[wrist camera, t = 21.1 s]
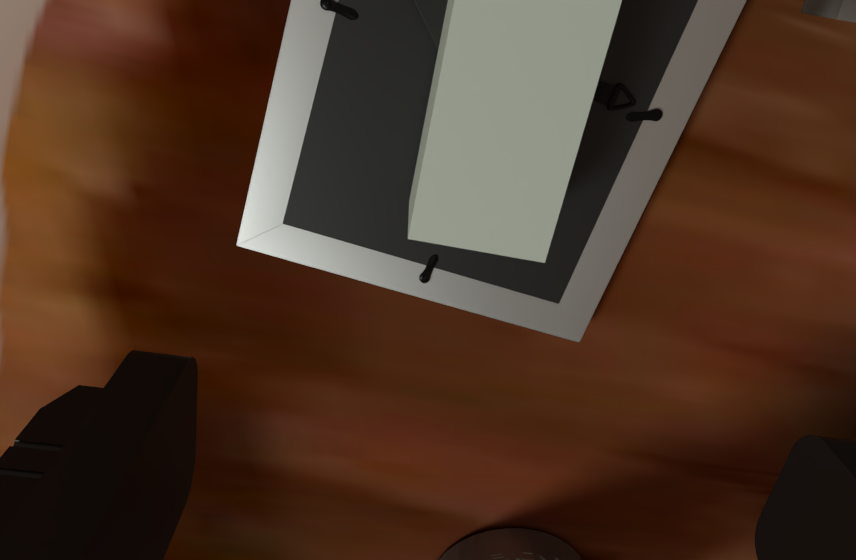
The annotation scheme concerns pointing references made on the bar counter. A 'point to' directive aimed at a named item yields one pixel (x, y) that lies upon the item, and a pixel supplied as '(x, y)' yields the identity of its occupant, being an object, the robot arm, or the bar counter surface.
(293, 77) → the picture frame
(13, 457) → the robot arm
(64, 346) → the bar counter surface
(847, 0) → the slot rack
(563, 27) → the blank block
